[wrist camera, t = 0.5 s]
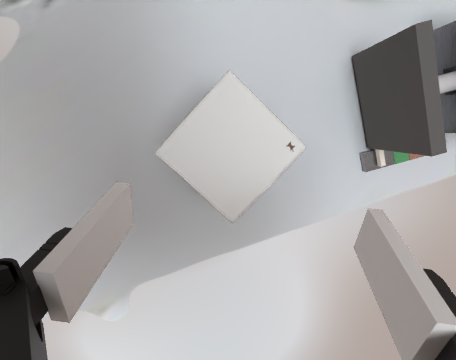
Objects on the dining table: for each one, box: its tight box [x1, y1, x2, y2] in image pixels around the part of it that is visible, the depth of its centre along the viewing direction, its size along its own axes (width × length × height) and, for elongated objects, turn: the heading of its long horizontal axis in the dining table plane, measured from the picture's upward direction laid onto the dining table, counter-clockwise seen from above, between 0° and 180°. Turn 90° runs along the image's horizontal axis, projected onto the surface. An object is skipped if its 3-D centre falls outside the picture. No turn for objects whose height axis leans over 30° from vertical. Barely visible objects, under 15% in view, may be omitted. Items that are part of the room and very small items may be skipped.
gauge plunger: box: [352, 20, 456, 167], centre depth 31 cm, size 14×10×11 cm, turn 15°
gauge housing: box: [360, 21, 456, 172], centre depth 31 cm, size 15×15×12 cm
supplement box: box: [155, 71, 306, 223], centre depth 29 cm, size 9×9×15 cm
